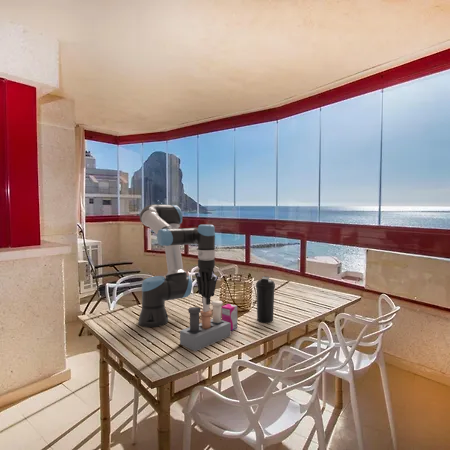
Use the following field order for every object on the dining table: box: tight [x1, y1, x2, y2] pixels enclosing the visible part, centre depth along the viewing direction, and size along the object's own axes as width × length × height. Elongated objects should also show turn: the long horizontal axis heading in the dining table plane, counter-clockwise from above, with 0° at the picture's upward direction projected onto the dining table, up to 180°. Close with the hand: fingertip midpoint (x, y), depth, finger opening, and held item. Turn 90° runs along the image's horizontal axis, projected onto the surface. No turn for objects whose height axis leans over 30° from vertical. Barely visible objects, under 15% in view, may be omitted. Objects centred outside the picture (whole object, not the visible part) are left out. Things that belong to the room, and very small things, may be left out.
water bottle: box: [255, 275, 276, 324], centre depth 158 cm, size 10×10×23 cm
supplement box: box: [221, 303, 238, 332], centre depth 146 cm, size 6×6×12 cm
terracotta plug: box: [199, 309, 213, 330], centre depth 132 cm, size 5×5×9 cm
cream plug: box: [211, 300, 224, 323], centre depth 137 cm, size 5×5×9 cm
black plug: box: [187, 306, 202, 332], centre depth 127 cm, size 5×5×9 cm
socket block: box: [179, 318, 232, 352], centre depth 133 cm, size 10×22×6 cm, turn 137°
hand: (206, 311), depth 132 cm, fingers closed
